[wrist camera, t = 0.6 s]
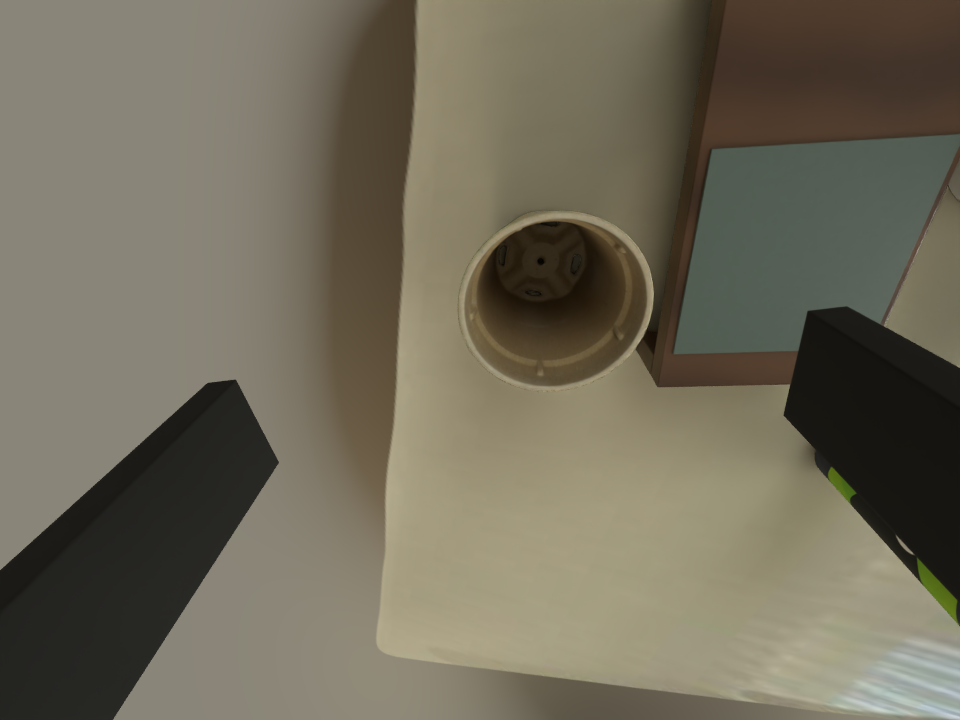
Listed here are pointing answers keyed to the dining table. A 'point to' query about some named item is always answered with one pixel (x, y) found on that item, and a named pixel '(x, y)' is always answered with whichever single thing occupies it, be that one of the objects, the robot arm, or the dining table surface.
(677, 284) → the teal-inset wooden board
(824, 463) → the beverage can
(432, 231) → the dining table surface
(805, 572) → the dining table surface
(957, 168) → the lumpy-topped squat cylinder
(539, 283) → the flower pot
